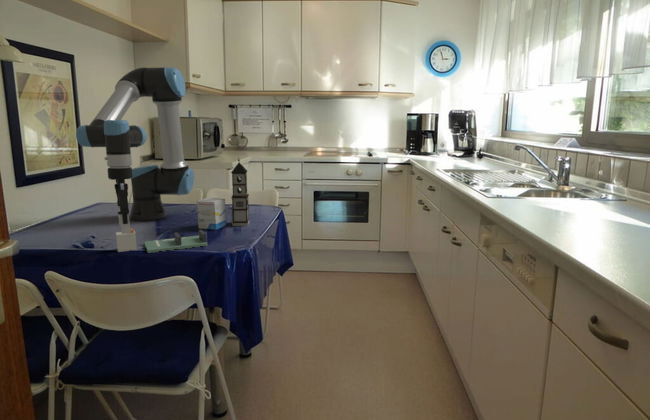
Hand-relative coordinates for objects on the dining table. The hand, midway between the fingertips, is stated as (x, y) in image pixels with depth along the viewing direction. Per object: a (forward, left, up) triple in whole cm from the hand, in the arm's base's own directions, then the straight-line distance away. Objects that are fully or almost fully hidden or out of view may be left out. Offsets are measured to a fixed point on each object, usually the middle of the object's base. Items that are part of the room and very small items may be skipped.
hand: (124, 229), depth 157 cm
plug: (0, 0, -7) cm, 7 cm away
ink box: (-19, +34, -8) cm, 40 cm away
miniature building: (-19, +46, -8) cm, 51 cm away
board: (+2, +16, -7) cm, 18 cm away
